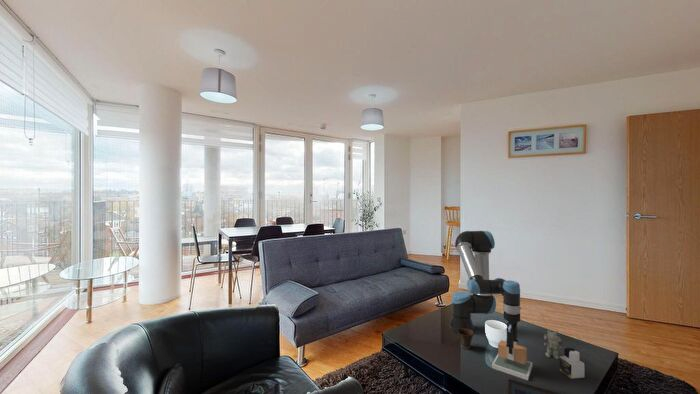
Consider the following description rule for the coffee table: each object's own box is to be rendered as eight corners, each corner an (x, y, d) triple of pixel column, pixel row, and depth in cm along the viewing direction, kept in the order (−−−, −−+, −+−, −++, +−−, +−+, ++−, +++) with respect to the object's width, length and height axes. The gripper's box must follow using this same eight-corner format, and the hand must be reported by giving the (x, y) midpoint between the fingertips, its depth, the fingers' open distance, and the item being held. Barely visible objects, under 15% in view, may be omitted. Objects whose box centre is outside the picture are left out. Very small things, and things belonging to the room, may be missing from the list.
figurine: (564, 358, 156) (564, 331, 156) (556, 362, 153) (555, 334, 153) (548, 351, 164) (548, 325, 163) (540, 355, 160) (540, 328, 160)
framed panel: (492, 368, 150) (491, 363, 149) (498, 355, 160) (498, 351, 160) (528, 380, 139) (528, 375, 139) (532, 366, 150) (532, 362, 150)
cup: (475, 343, 173) (474, 327, 172) (474, 352, 165) (473, 336, 163) (459, 340, 177) (458, 325, 175) (458, 350, 168) (457, 334, 167)
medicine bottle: (559, 369, 147) (559, 346, 147) (572, 368, 148) (572, 345, 147) (571, 378, 140) (571, 354, 140) (584, 377, 140) (584, 353, 140)
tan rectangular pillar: (498, 355, 151) (498, 344, 151) (501, 351, 156) (501, 340, 156) (524, 364, 144) (524, 352, 143) (526, 359, 148) (526, 347, 148)
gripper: (516, 320, 140) (517, 367, 140) (523, 308, 154) (523, 351, 154) (499, 316, 145) (500, 362, 145) (507, 304, 159) (508, 346, 159)
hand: (512, 356), depth 150 cm, fingers closed on tan rectangular pillar, 6 cm apart
